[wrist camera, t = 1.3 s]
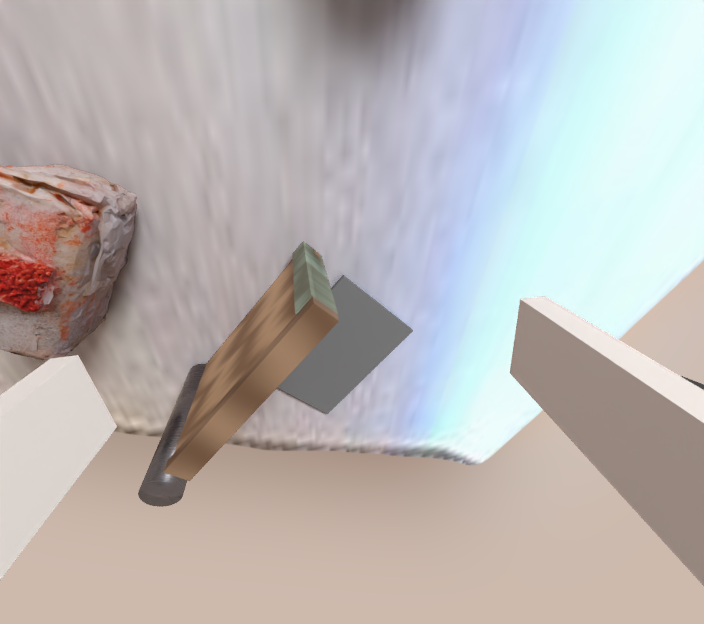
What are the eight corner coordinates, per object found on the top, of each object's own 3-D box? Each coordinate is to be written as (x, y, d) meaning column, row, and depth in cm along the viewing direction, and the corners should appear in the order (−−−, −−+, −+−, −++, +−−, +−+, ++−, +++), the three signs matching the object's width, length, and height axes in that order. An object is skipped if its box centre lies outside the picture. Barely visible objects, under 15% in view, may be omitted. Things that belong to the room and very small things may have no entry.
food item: (39, 142, 24) (-96, 143, 16) (155, 189, 27) (93, 213, 18) (25, 294, 29) (-84, 359, 21) (125, 321, 32) (65, 388, 23)
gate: (222, 371, 35) (190, 481, 24) (203, 362, 34) (161, 472, 23) (321, 255, 31) (340, 321, 20) (303, 241, 30) (312, 302, 19)
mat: (254, 373, 37) (254, 376, 37) (343, 275, 33) (343, 276, 33) (327, 411, 42) (327, 414, 42) (411, 329, 38) (412, 330, 38)
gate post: (183, 377, 36) (130, 499, 24) (198, 359, 35) (151, 475, 23) (208, 389, 37) (170, 510, 25) (223, 371, 36) (190, 488, 24)
